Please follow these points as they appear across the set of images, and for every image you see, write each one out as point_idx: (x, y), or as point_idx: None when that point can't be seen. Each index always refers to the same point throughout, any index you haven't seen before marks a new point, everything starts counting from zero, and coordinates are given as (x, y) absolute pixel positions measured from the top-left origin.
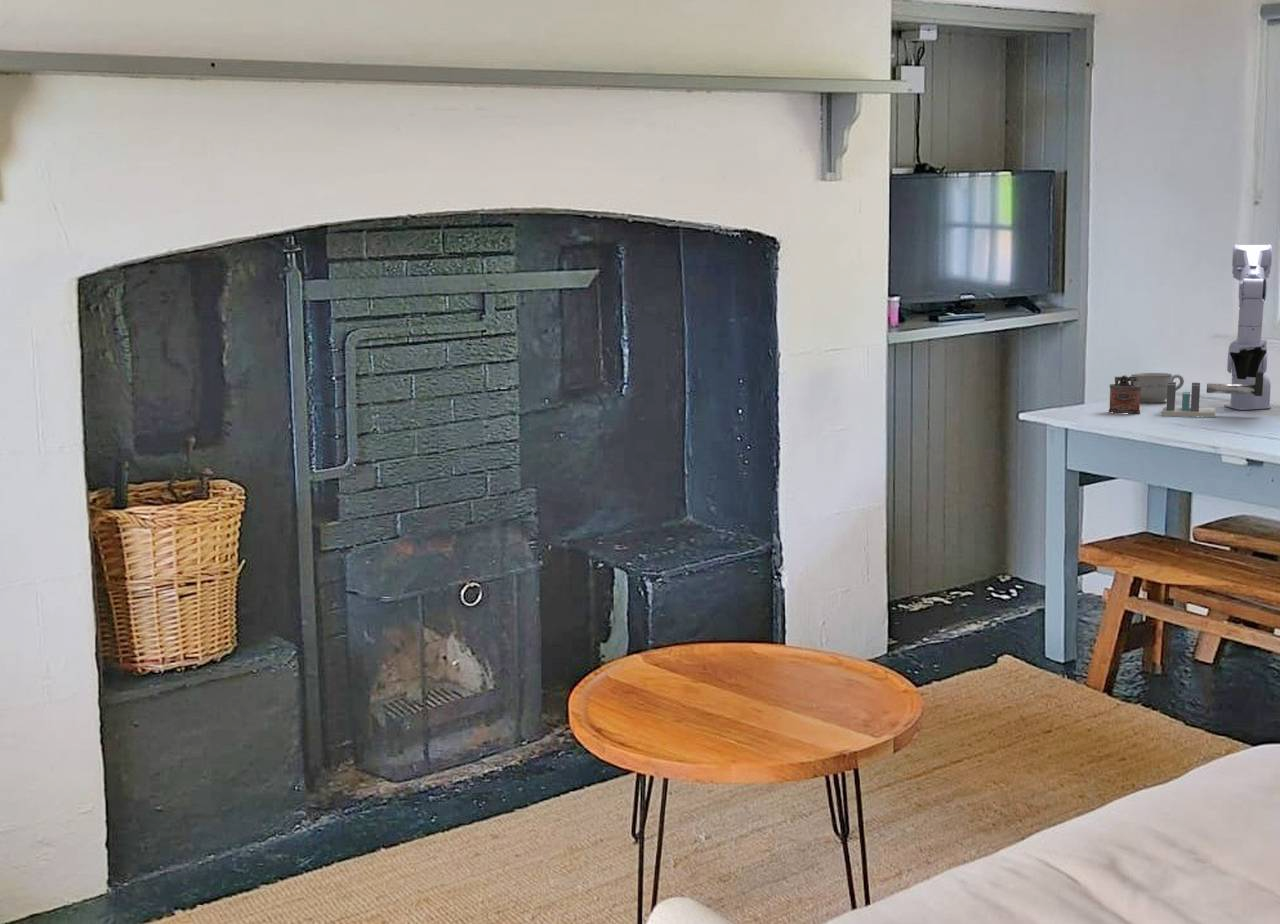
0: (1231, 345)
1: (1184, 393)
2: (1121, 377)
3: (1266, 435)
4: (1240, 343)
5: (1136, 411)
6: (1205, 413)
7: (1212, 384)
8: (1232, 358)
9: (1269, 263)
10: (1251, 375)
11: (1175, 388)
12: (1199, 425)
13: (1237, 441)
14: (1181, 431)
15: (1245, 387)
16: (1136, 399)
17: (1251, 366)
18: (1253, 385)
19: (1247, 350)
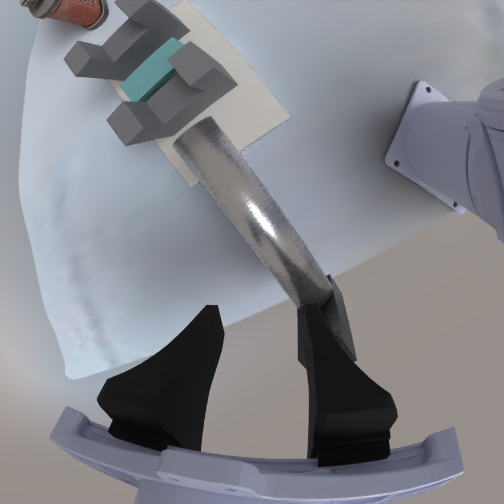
0: (52, 438)
1: (135, 78)
2: None
3: (124, 360)
4: (138, 481)
5: (85, 27)
6: (173, 164)
7: (192, 161)
8: (131, 371)
9: None
10: (304, 329)
11: (90, 71)
12: (85, 235)
13: (67, 344)
14: (35, 253)
15: (279, 282)
16: (64, 20)
17: (308, 362)
18: (303, 307)
19: (320, 430)
